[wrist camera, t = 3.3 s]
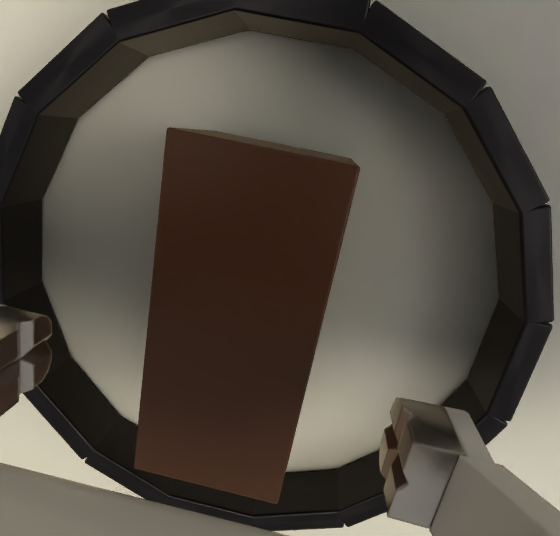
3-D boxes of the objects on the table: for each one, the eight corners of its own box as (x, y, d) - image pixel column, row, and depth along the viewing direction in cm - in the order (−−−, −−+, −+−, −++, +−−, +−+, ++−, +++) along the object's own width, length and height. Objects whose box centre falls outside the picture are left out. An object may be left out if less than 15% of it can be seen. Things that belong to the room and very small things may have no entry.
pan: (19, -44, 12) (-52, -85, 10) (619, 66, 11) (691, 48, 9) (25, 536, 20) (-15, 588, 18) (387, 632, 19) (394, 700, 17)
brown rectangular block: (213, 130, 13) (166, 126, 9) (352, 158, 13) (360, 166, 9) (179, 392, 16) (133, 468, 12) (290, 418, 16) (277, 505, 12)
